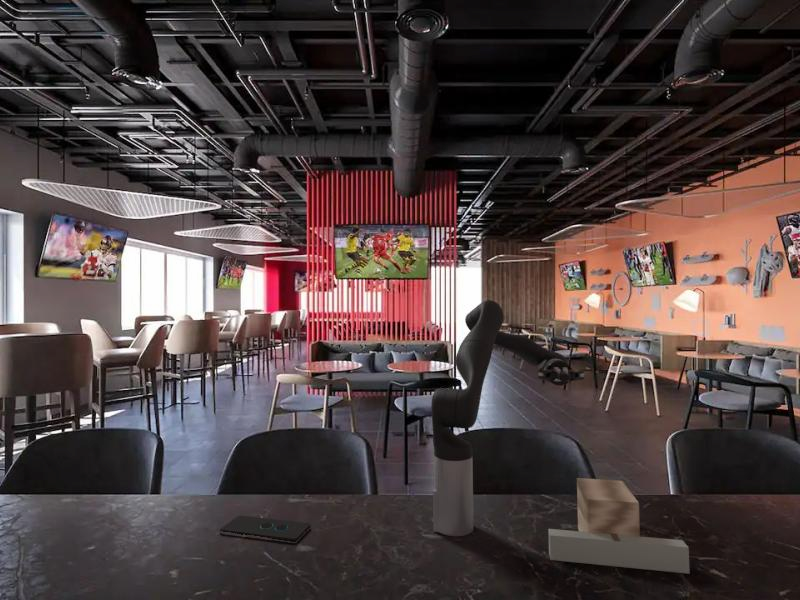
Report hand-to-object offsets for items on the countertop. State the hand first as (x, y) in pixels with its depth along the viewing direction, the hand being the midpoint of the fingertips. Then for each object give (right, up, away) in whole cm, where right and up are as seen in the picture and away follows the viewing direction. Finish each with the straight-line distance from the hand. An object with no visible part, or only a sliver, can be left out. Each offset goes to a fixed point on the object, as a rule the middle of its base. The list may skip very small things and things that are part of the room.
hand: (564, 377), depth 120 cm
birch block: (+2, -34, -20) cm, 39 cm away
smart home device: (-76, -35, -13) cm, 85 cm away
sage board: (0, -33, -28) cm, 43 cm away
